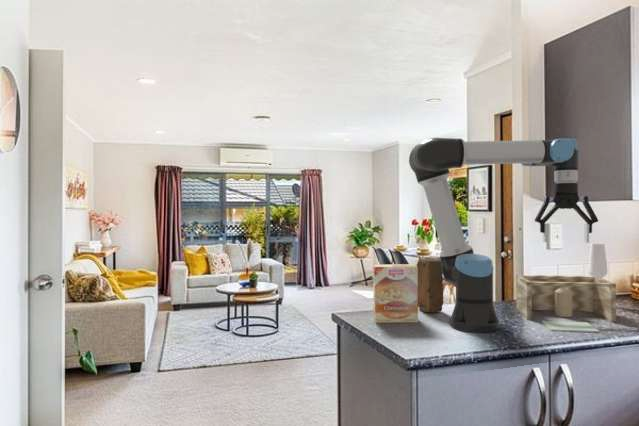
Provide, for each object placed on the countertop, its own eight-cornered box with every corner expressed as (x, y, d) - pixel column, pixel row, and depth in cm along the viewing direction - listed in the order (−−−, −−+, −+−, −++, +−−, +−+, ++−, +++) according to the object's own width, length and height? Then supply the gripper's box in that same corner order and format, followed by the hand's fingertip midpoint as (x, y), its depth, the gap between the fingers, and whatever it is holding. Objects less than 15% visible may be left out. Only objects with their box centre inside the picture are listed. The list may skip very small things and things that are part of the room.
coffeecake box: (375, 323, 163) (374, 266, 163) (373, 318, 170) (372, 264, 170) (418, 322, 163) (418, 266, 162) (415, 317, 170) (414, 263, 169)
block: (445, 312, 176) (444, 259, 176) (427, 314, 174) (426, 260, 174) (431, 307, 187) (429, 256, 186) (413, 308, 185) (412, 257, 184)
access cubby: (527, 319, 165) (526, 282, 165) (516, 308, 183) (516, 274, 182) (615, 322, 159) (615, 283, 159) (596, 310, 177) (596, 276, 177)
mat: (550, 330, 150) (550, 329, 150) (541, 322, 161) (541, 320, 161) (599, 332, 147) (599, 330, 147) (587, 323, 158) (587, 322, 158)
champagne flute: (585, 304, 189) (585, 244, 188) (591, 301, 193) (590, 243, 193) (604, 306, 184) (604, 244, 184) (610, 303, 189) (609, 243, 188)
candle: (552, 313, 173) (552, 286, 173) (567, 313, 173) (567, 286, 172) (559, 317, 167) (559, 289, 167) (575, 317, 167) (575, 289, 167)
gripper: (530, 182, 168) (530, 242, 168) (608, 181, 162) (608, 243, 163) (526, 183, 175) (526, 241, 175) (600, 182, 170) (600, 241, 170)
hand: (565, 242), depth 169 cm, fingers open, 13 cm apart
